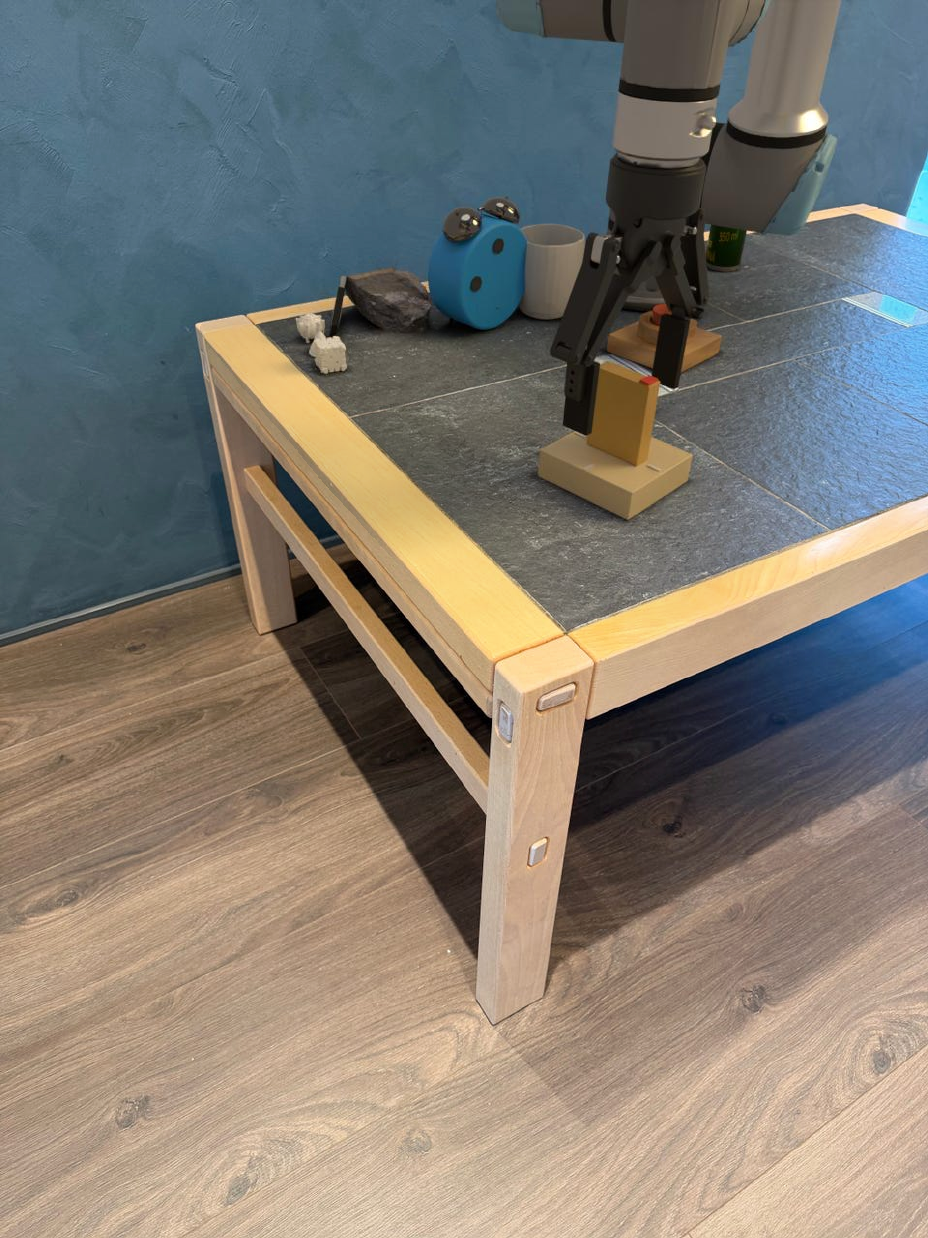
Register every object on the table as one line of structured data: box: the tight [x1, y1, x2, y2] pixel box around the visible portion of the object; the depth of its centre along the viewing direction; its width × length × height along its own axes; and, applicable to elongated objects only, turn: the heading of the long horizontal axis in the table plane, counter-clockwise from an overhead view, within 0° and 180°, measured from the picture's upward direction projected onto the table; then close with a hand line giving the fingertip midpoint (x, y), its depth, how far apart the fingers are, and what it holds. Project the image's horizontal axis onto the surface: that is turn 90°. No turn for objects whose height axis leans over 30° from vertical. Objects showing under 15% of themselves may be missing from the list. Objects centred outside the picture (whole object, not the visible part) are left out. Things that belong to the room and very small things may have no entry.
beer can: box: [705, 225, 748, 273], centre depth 134 cm, size 5×5×12 cm
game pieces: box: [295, 312, 348, 375], centre depth 110 cm, size 12×3×3 cm, turn 22°
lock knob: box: [587, 360, 661, 466], centre depth 85 cm, size 6×2×8 cm, turn 46°
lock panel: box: [537, 430, 694, 521], centre depth 88 cm, size 11×10×3 cm
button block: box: [606, 311, 723, 373], centre depth 112 cm, size 10×10×4 cm
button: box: [651, 304, 672, 326], centre depth 110 cm, size 4×4×2 cm
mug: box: [518, 223, 586, 320], centre depth 120 cm, size 13×9×10 cm
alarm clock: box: [427, 195, 527, 331], centre depth 114 cm, size 13×6×15 cm, turn 135°
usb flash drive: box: [329, 275, 347, 338], centre depth 116 cm, size 9×5×1 cm
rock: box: [344, 267, 432, 335], centre depth 118 cm, size 14×11×5 cm
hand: (622, 405), depth 84 cm, fingers open, 13 cm apart
